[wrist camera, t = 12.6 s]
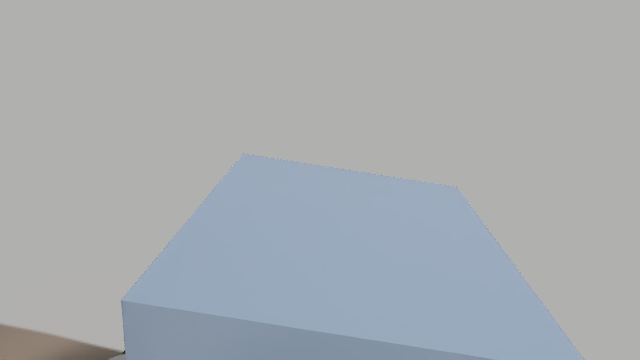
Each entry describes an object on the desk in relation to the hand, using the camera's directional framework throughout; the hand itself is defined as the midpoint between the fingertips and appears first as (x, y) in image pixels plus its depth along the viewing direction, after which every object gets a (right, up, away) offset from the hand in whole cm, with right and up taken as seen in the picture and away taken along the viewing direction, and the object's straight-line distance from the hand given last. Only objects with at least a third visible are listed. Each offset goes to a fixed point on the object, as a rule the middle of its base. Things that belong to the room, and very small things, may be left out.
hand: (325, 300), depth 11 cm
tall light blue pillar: (-1, -6, 0) cm, 6 cm away
